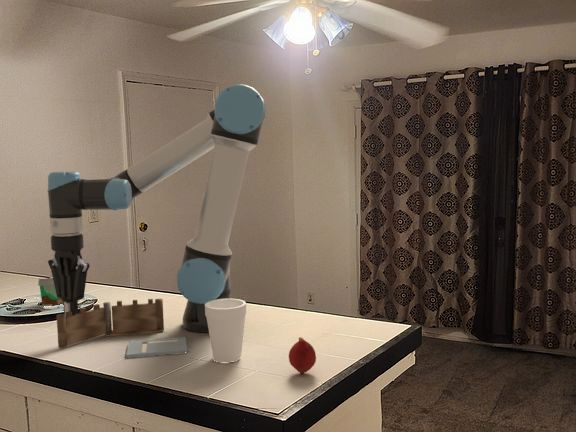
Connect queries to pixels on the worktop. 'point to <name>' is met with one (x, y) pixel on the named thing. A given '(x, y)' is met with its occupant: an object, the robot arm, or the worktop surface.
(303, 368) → the onion
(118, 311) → the fence fixed panel
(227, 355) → the foam cup
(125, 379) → the worktop surface
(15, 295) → the worktop surface
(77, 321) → the fence hinged panel
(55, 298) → the food container
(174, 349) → the card
